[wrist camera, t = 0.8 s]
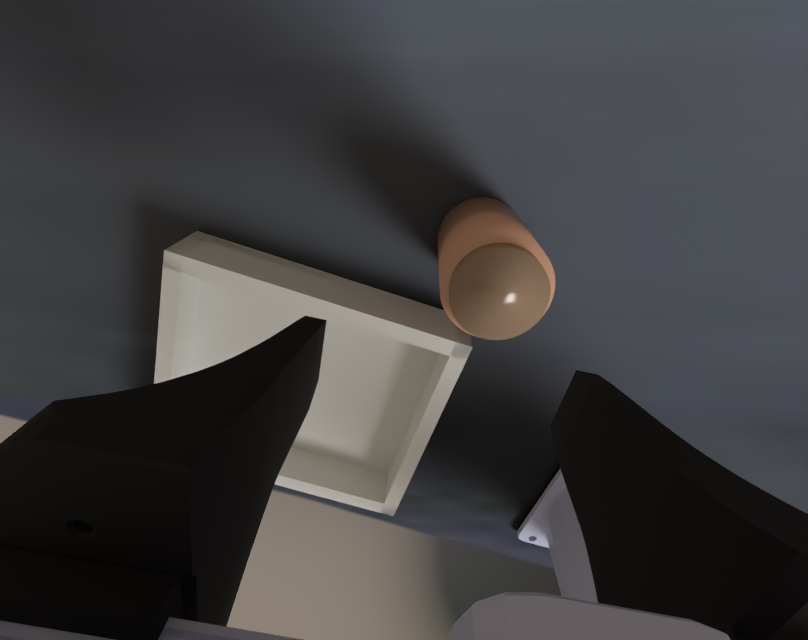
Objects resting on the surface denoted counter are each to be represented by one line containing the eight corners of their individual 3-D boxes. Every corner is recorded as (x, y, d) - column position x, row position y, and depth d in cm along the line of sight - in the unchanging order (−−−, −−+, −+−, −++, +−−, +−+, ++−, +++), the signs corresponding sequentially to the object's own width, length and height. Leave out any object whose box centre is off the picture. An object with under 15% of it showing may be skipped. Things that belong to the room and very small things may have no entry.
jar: (537, 213, 20) (582, 262, 14) (501, 289, 22) (527, 360, 16) (455, 184, 20) (466, 222, 14) (425, 264, 21) (423, 327, 16)
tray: (467, 317, 23) (472, 347, 20) (396, 476, 28) (393, 516, 25) (197, 230, 21) (164, 250, 19) (177, 414, 27) (149, 450, 24)
